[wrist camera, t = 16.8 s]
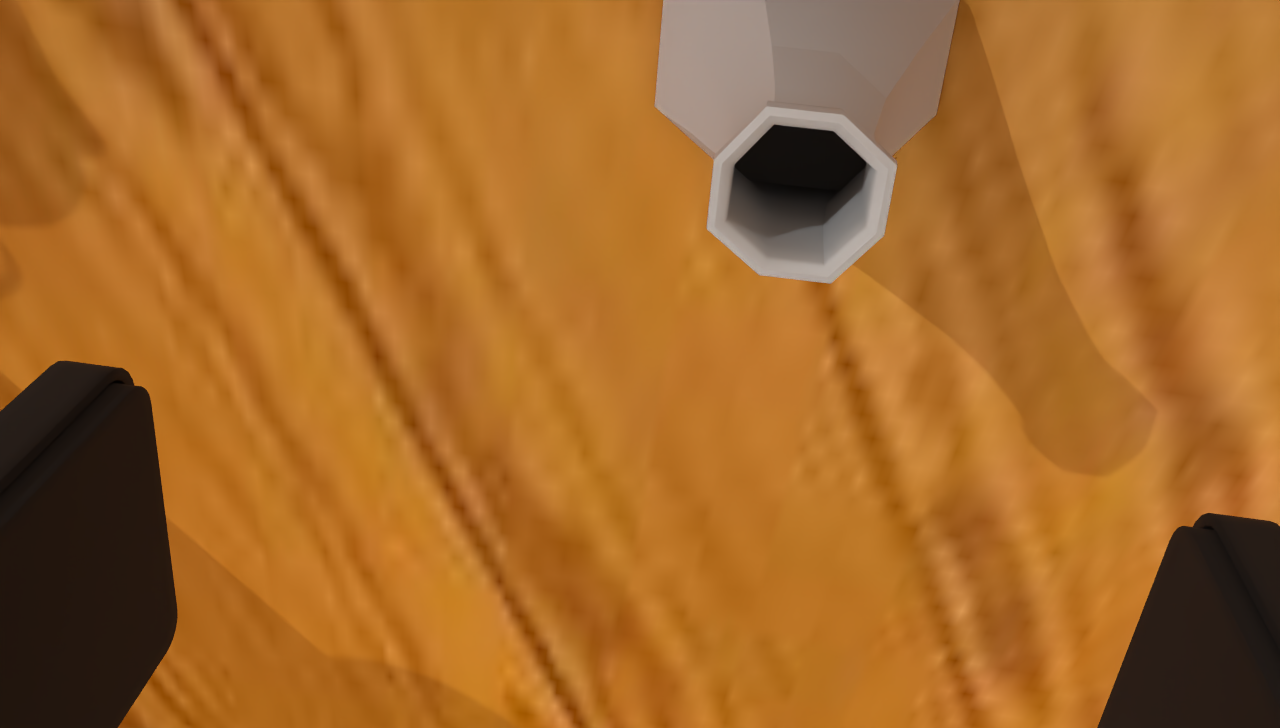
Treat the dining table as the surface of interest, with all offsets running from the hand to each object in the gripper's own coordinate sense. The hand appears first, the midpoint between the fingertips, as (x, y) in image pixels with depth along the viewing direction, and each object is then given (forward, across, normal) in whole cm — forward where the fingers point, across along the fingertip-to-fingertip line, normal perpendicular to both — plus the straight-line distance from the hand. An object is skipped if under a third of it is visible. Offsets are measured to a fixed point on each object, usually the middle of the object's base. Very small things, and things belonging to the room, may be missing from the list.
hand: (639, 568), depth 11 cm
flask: (+21, -2, 0) cm, 21 cm away
